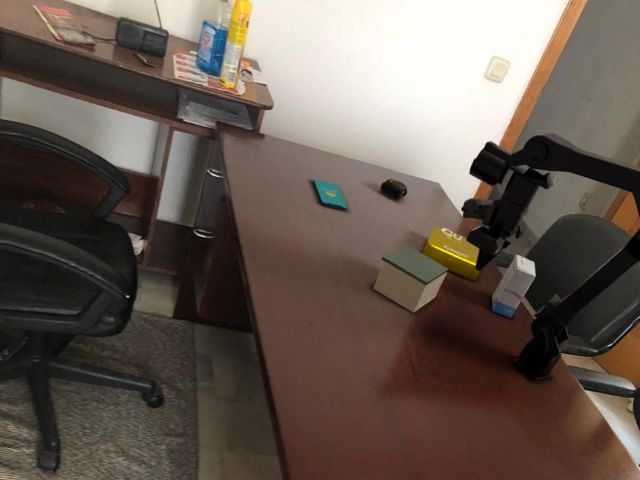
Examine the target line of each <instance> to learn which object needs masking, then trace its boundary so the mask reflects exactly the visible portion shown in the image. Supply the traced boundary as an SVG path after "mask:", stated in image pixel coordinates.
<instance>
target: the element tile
mask: <svg viewBox="0 0 640 480" xmlns="http://www.w3.org/2000/svg"><path fill="white" fill-rule="evenodd" d="M466 238H467V236H466V237H465V236H464V235H461V234H458V233H457V232H455V231H452V230H450V229H449V228H446V227H443V226H440V225H437V226H434V227H433V229H432V231H431V233H430V235H429V237H428V239H427V241H426V243H425V245H424V248H423V250H422V252H421V253H422V254H423V255H425V256H427V257H429V258H430V259H432V260H434V261H436V262H437V263H439V264H441V265H443V266H444V267H446V268H448V271H447V272H450V273H453V274H454V275H455V274H456V275H458V276H460V277H462V278H464V279H467V280H469V281H475V280H477V278H478V277H479V274H480V273H481V270H480V271H478V270H476V269H475V266H476V261H477V257H478V253H479V248H477V247H476V246H474V245H472V244H471V243H469V242H467V240H466Z"/></svg>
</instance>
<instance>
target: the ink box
mask: <svg viewBox="0 0 640 480" xmlns="http://www.w3.org/2000/svg"><path fill="white" fill-rule="evenodd" d="M536 275H537V274H536V265H535V262H534V261H533V260H530V259H528V258H526V257H524V256H523V255H522V256H521V255H519V254H515V256H514V257H513V259H512V261H511V263H510V265H509V266H508V268H507V270H506V272H505V273H504V274H503V277H502V279H501V280H500V282H499V283H498V285H497V287H496V289H495V290H494V292H493V294H492V298H491V299H492V301H491V303H492V304H491V305H492V309H491V311H492V312H493V313H494V312H495V313H497V314H499V315H502V316H504V317H507V318H509V319H511V318H512V316H513V315H514V313H515V312H516V310H517V309H518V307H519V305H520V304H521V302H522V300H523V298H524V296H525V295H526V293H527V291H528V290H529V288H530V287H531V285H532V283H533V282H534V280H535V278H536Z"/></svg>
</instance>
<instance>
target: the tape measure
mask: <svg viewBox="0 0 640 480" xmlns="http://www.w3.org/2000/svg"><path fill="white" fill-rule="evenodd" d="M380 191H381V192H383V193H384V194H386V195H387V196H388V197H390V198H393V199H394V200H396V201H400V200H403V199H404V198H405V197H406V196H407V195H408V186H407V185H406V184H405V183H404V182H402V181H399V180H397V179H394V178H392V179H391V178H389V179H386V180H385V181H383V182H382V183H381V184H380Z"/></svg>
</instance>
